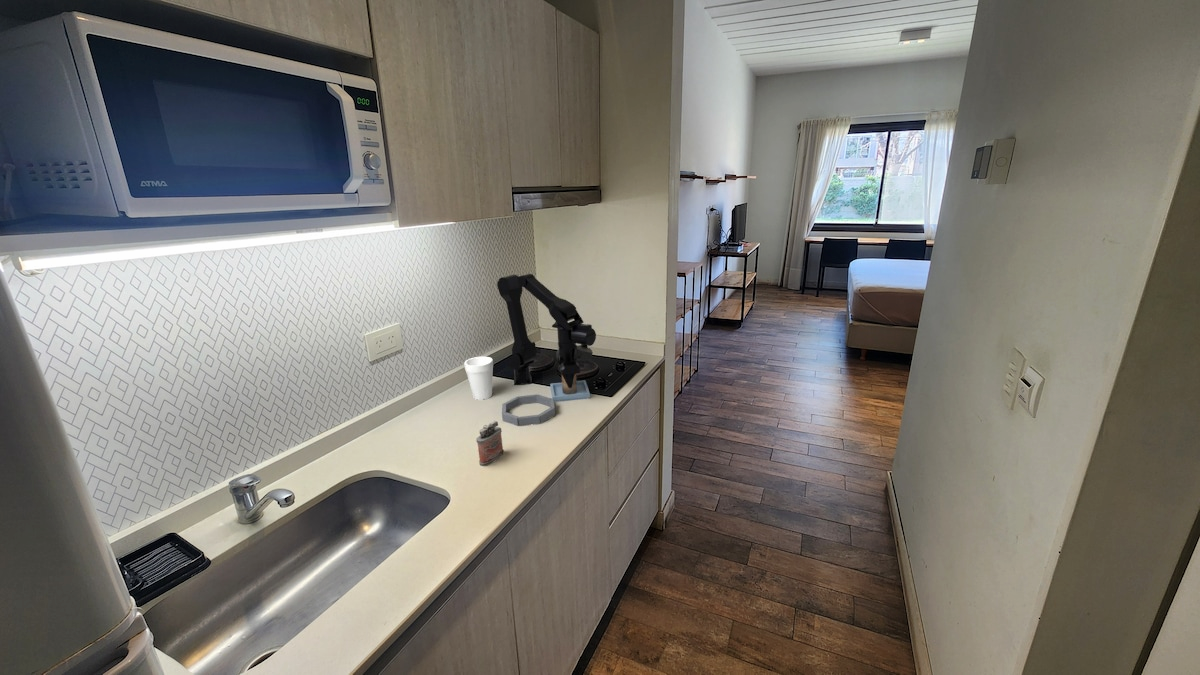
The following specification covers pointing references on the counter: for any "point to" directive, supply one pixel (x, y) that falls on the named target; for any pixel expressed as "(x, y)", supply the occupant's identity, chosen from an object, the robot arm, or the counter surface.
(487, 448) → the lighter
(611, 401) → the counter surface
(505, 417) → the holder ring
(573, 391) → the walnut cylinder
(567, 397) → the tray
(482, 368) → the foam cup
